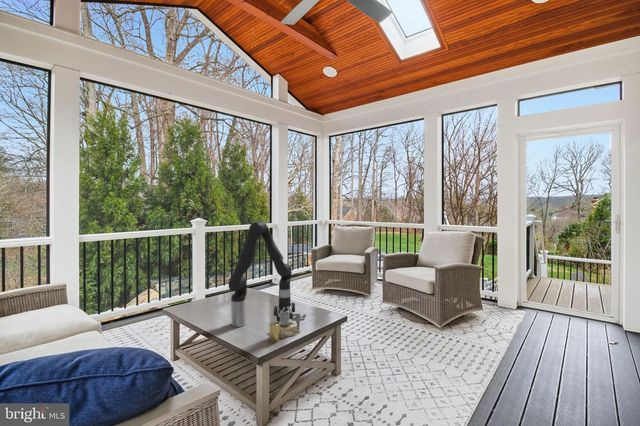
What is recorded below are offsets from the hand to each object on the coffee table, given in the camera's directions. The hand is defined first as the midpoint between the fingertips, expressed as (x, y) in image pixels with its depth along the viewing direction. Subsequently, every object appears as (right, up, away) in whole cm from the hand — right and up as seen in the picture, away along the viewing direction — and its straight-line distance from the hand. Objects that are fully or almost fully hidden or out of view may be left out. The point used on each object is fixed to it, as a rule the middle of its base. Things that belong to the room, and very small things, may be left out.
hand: (284, 320), depth 203 cm
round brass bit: (-5, -9, -10) cm, 14 cm away
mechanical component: (+8, -8, +6) cm, 13 cm away
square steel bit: (0, -7, 0) cm, 7 cm away
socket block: (0, -8, 0) cm, 8 cm away
